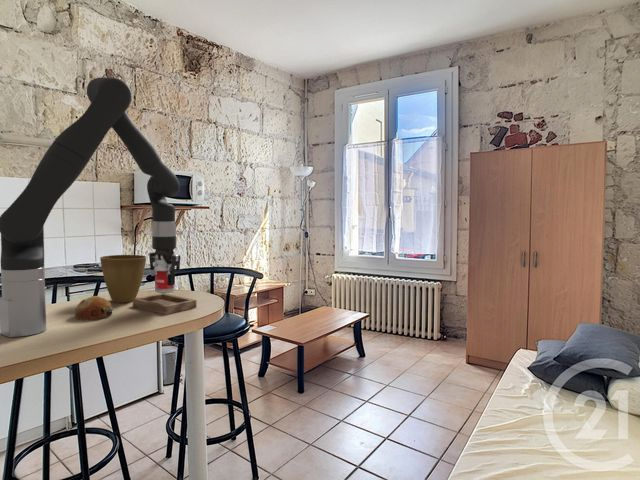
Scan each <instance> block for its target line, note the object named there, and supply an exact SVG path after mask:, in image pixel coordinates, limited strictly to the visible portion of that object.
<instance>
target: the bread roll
mask: <svg viewBox="0 0 640 480" xmlns="http://www.w3.org/2000/svg"><path fill="white" fill-rule="evenodd" d="M113 311H114V307H113V304H111V302H110V301H109V300H107V299H106V298H104V297H101V296H99V295H93V296H90V297H88V298H86V297H85V298H84V299H82V300H81V301H80V302H79V303H78V304H77V306H76V307H75V310H74V315H75V318H76V319H77V320H83V321H95V320H96V321H97V320H103V319H107V318H109V317H111V315H113Z"/></svg>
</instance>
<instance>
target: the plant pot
mask: <svg viewBox="0 0 640 480" xmlns="http://www.w3.org/2000/svg"><path fill="white" fill-rule="evenodd" d="M99 261H100V266H101V271H102V274H103V279H104V283H105V285H106V288H107V289H106V290H107V292H108V294H109V297H110V299H111V301H112V302H113V303H115V304H116V303H117V304H118V303H120V304H122V303H123V304H124V303H130V302H133V299H135V298H137V296H138V293H139V291H140V287H141V284H142V282H143V277H144V273H145V269H146V263H147V255H140V254H111V255H104V256H100V257H99Z"/></svg>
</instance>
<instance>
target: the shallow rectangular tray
mask: <svg viewBox="0 0 640 480" xmlns="http://www.w3.org/2000/svg"><path fill="white" fill-rule="evenodd" d="M132 306H133V307H134V308H139V309H143V310H146V311H150V312H154V313H158V314H162V315H166V316H167V315H171V314H173V313H179V312H183V311H187V310H191V308H192V309H196V308H197V300H196V299H193V298H188V297H182V296H179V295H178V296H177V295H173V294H170V293H157V294H153V295H147V296H142V297H136V298H135V299H133V301H132ZM195 307H196V308H195Z"/></svg>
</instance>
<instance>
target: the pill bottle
mask: <svg viewBox="0 0 640 480" xmlns="http://www.w3.org/2000/svg"><path fill="white" fill-rule="evenodd" d="M157 264H158V266H156V268H155V272H154V289H155V290H154V291H155V293H157V294H162V293H165V294H170V293H173V292H174V291H175V289H176V288H175V284H176V283H175V284H174V285H171V286H169V285H168V273H167V269H165V268H164V264H163V261H162V260H160V259H159V260H157ZM168 265H171V264H168ZM170 271H171V268H170Z"/></svg>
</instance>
